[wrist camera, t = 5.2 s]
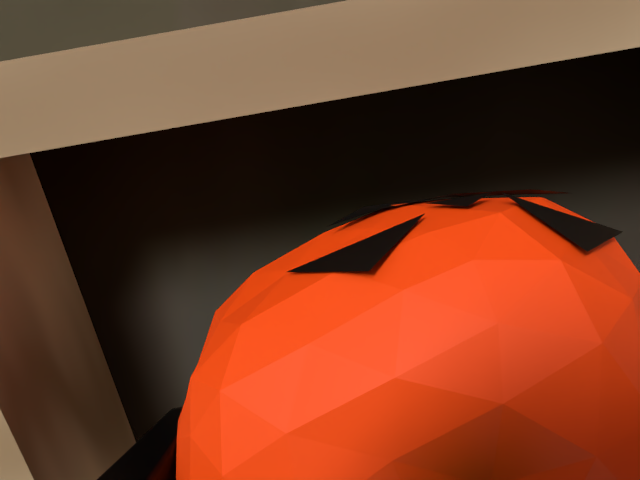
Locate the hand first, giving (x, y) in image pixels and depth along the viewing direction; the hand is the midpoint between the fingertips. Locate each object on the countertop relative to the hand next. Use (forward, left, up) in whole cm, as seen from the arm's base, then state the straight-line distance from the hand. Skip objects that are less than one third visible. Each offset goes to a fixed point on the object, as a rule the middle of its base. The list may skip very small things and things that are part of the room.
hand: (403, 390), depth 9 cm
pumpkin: (0, 0, -2) cm, 2 cm away
